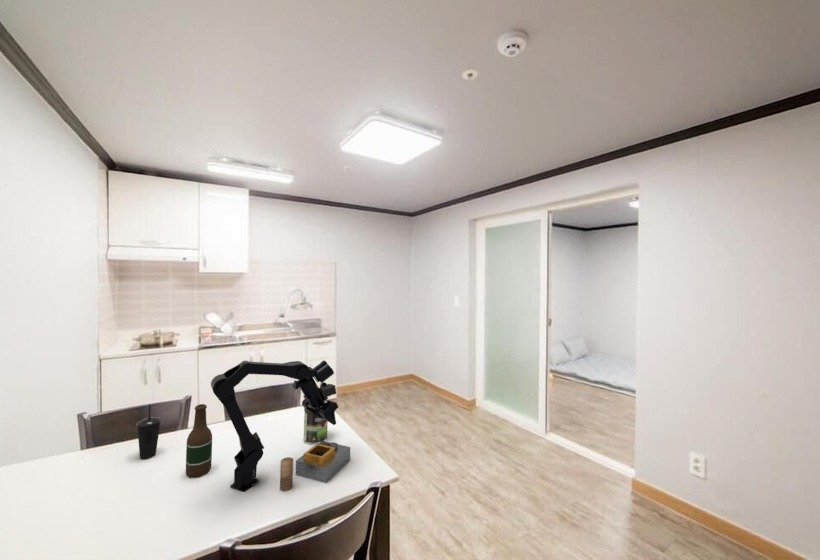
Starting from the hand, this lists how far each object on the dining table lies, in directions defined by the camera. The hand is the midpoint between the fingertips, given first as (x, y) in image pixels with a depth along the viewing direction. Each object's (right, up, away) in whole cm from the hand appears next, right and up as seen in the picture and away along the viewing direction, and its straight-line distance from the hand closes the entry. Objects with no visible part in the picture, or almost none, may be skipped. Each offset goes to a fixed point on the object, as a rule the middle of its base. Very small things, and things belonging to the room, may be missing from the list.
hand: (328, 421), depth 128 cm
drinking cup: (-70, -13, -2) cm, 72 cm away
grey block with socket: (0, -14, -7) cm, 16 cm away
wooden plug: (-10, -14, -19) cm, 26 cm away
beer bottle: (-44, -13, -12) cm, 48 cm away
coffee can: (-10, -15, +15) cm, 23 cm away
